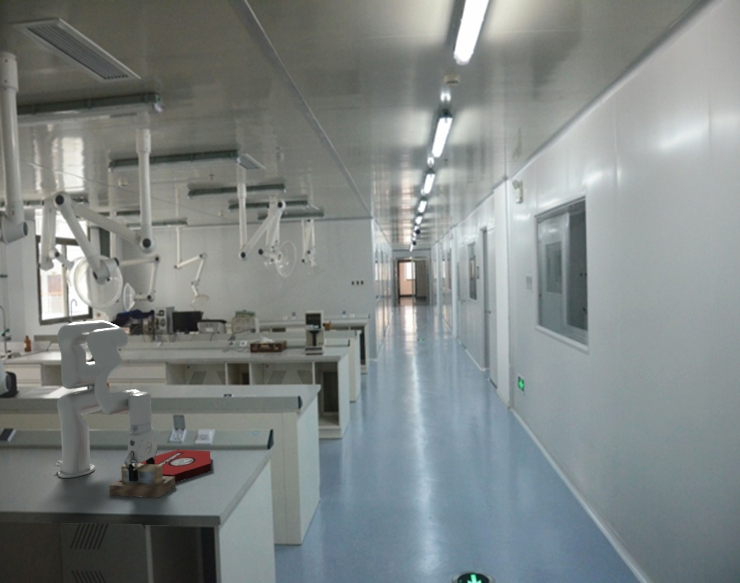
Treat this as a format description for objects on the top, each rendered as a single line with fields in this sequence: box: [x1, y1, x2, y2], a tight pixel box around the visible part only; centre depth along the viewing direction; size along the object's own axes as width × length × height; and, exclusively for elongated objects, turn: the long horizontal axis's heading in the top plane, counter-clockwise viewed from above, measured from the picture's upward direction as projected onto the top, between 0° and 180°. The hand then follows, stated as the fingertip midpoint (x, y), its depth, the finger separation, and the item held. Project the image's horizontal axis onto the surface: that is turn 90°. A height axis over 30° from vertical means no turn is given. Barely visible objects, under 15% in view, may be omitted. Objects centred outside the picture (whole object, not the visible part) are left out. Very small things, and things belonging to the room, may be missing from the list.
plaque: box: [140, 449, 212, 483], centre depth 203 cm, size 27×4×30 cm
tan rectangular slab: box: [120, 463, 163, 484], centre depth 182 cm, size 14×3×8 cm, turn 79°
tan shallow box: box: [108, 476, 176, 499], centre depth 182 cm, size 19×10×4 cm, turn 79°
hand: (142, 475), depth 182 cm, fingers open, 9 cm apart
